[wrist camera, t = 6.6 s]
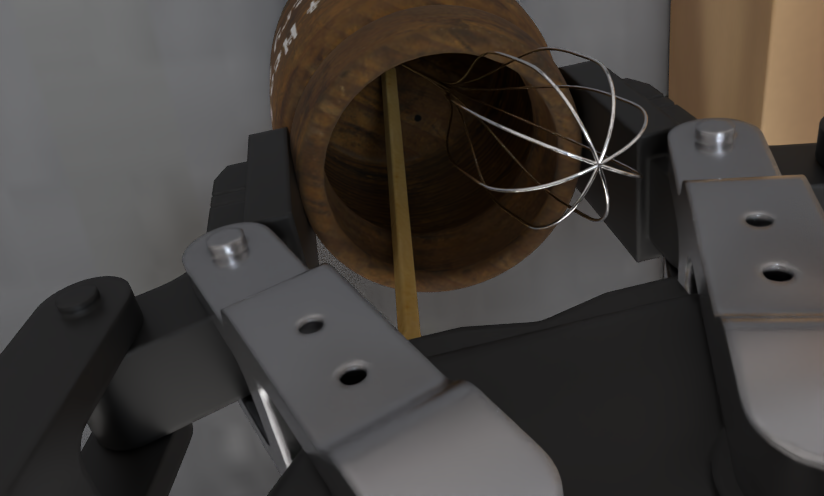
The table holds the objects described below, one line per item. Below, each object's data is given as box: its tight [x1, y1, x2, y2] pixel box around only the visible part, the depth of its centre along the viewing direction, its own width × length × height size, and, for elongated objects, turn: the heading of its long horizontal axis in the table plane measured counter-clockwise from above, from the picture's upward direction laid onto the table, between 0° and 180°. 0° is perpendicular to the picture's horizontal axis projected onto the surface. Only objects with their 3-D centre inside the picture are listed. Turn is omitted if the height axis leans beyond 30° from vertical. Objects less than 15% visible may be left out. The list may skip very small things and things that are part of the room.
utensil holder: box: [270, 0, 648, 340], centre depth 14 cm, size 6×6×12 cm
